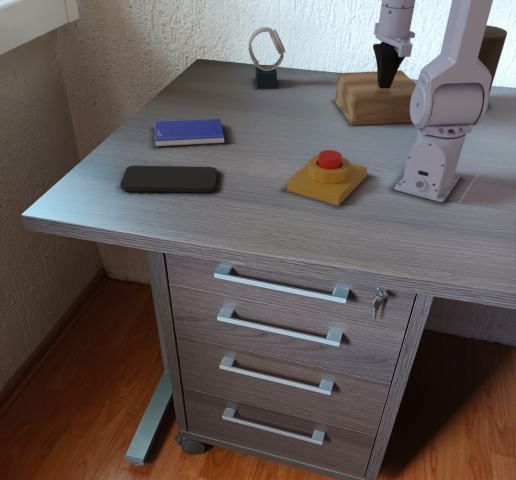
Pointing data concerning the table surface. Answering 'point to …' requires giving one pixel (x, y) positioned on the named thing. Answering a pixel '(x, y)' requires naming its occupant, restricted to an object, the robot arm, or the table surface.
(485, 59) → the pillar candle
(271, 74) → the watch
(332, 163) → the button
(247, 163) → the table surface
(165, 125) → the blue hardcover book
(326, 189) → the button block
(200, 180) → the phone
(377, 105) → the chest
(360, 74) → the lid
